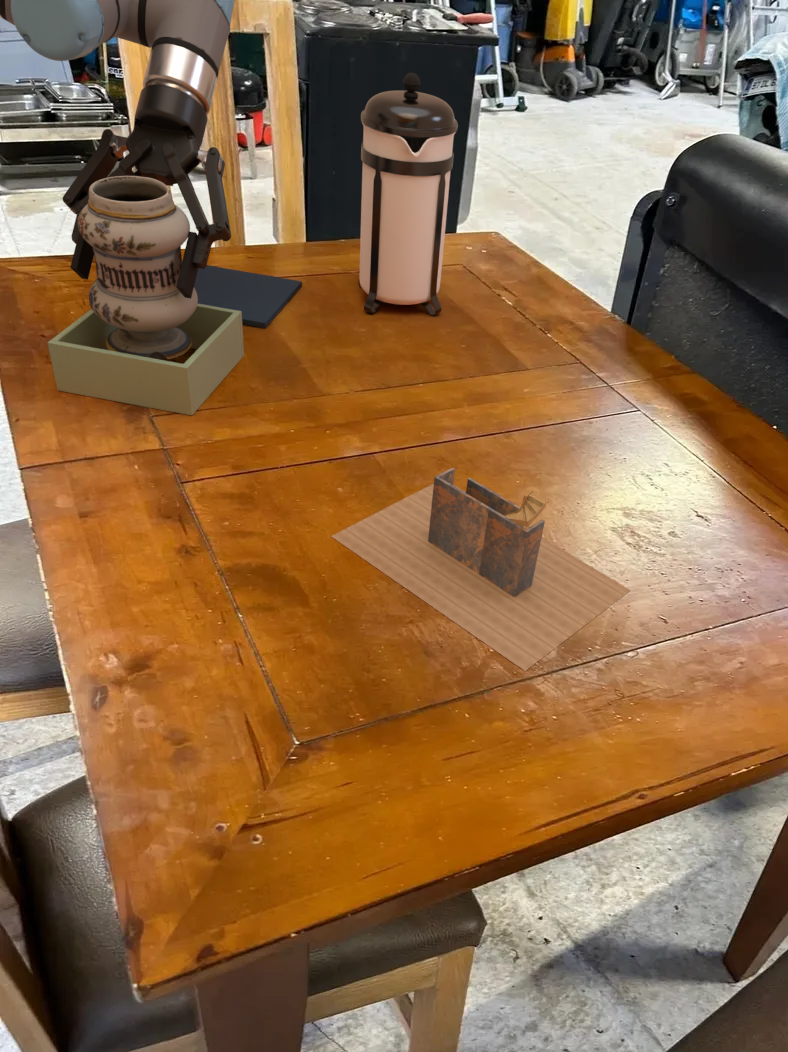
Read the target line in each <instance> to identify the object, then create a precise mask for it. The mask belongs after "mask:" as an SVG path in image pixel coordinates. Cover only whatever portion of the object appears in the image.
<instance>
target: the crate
mask: <svg viewBox="0 0 788 1052" xmlns="http://www.w3.org/2000/svg"><path fill="white" fill-rule="evenodd" d="M177 327H178V328H180V329H182V330H183V331H184V332H186V333H187V334H188V335H189V337H190V338H191V342H192V345H191V347H190V349H191V350H195V352H194V353H193V354H191V355H190V357H189V358H188V359H187V360H185V362H184V363H181V362H176V361H175V362H174V361H170V360H164V359H153V358H148V357H142V356H137V355H131V354H126V353H120V352H115V351H109V350H108V348H107V346H106V339H107V337H108V335H109V334H110V333H112V332H113V331H115V330H116V329H118V328H117V327H114V326H112V325H110V324H108V323H106V322H105V321H103V320H102V319H101V318H99V317H98V316H97V315H96V314H95V313H94V311H93V310H92V308H90V309H89V310H88V311H87V312H85V313H84V314H83V315H82V316H80V317H79V318H77V319H76V320H75V321H74V322H72V323H71V324H69V325H68V326H67V327H65V329H63V330H62V331H60V332H59V333H58V334H57V335H55V336H54V337H53V338H51V339H50V340H49V341H47V348H48V353H49V357H50V362H51V366H52V372H53V375H54V380H55V386H56V390H57V391H58V392H63V393H70V394H74V395H80V396H86V397H90V398H95V399H101V400H106V401H111V402H118V403H123V404H127V405H133V406H139V407H144V408H149V409H155V410H160V411H164V412H165V411H166V412H171V413H176V414H180V415H181V414H182V415H187V416H193V415H194V414H195V413H196V412H197V411H198V410H199V408H200V407H202V405H203V404H204V402H206V400H207V399H208V398H209V397H210V396H211V394H212V393H213V392H214V391H215V390H216V389H217V387H218V386H219V385H221V383H222V382H223V381H224V379H225V378H226V377H228V375H229V374H230V373H231V372H232V370H233V369H234V368H235V367H236V366H237V364H239V362H240V361H241V360H242V358H244V356H245V349H244V347H245V346H244V331H243V329H244V328H243V324H242V312H241V311H237V310H232V309H226V308H220V307H215V306H209V305H203V304H197V307H196V309H195V311H194V313H193V314H192V315H191V317H190V318H189V319H188V320H187V321H185V322H184V323H182V324H181V325H179V326H177ZM190 349H189V350H190Z"/></svg>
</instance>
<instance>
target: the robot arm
mask: <svg viewBox="0 0 788 1052" xmlns="http://www.w3.org/2000/svg"><path fill="white" fill-rule="evenodd" d="M235 1H236V0H0V18H1V19H3V20H4V21H6V22H8V23H9V24H11V25H13V26H15V28H16V31H17V32H18V34H19V35H20V37H21V38H22V39H23V40H24V42H25V43H26V44H27V46H28V47H29V48H30V49H31V50H33V51H34V52H35V53H37V54H38V55H40V56H42V57H44V58H45V59H48V60H52V61H55V62H56V61H57V62H66V61H67V62H68V61H71V60H77V59H79V58H84V57H87V56H88V55H90V54H92V53H93V51H95V50H96V49H97V48H98V47H99V46H101V45H103V44H105V43H107V42H109V41H111V40H112V39H115V38H116V39H120V40H124V41H127V42H131V43H134V44H137V45H140V46H143V47H146V48H151V49H150V54H149V58H148V61H147V64H146V69H145V72H144V76H143V80H142V89H141V91H140V93H139V97H138V102H137V106H136V109H135V113H134V119H133V120H134V122H133V129H132V131H131V132H130V133H129V135H128V136H123V135H122V136H121V135H117V134H115V133H114V132H113V131H112V129H110V128H105V129H104V130H103V131H102V133H101V136H100V140H99V143H98V147H97V148H96V149H95V151H94V152H93V154H92V155H91V157H89V159H88V161H87V162H86V164H85V165H84V166H83V168H82V169H81V170H80V172H79V173H78V175H77V176H76V178H75V179H74V180H73V181H72V183H71V185H70V186H69V187H68V189H67V190H66V192H65V193H64V195H63V196H62V202H63V203H64V204H65V205H66V206H67V208H68V209H69V210H70V211H71V212H72V213H73V214H74V215H75V220H74V224H73V228H72V232H71V241H72V242H73V243H74V244H75V247H74V251H73V255H72V259H71V263H70V266H69V268H70V269H71V270H72V271H73V272H74V273H75V274H76V275H77V276H79V278H80V279H82V280H89V276H90V274H91V269H92V266H93V261H94V258H95V257H94V251H93V246H91V245H90V244H88V243H87V242H86V241H85V240H84V239H83V237H82V236H81V234H80V232H79V229H78V217H79V214H80V212H81V211H82V209H83V208H84V207H85V206H86V205H87V204H88V200H89V188H90V186H91V185H92V184H93V183H94V182H96V181H98V180H101V179H104V178H108V177H115V176H140V177H148V178H153V179H156V180H159V181H161V182H163V183H164V184H166V185H167V186H168V187H174V185H177V187H178V188H179V190H180V193H181V195H182V198H183V200H184V202H185V205H186V208H187V209H188V211H189V214H190V217H191V218H192V221H193V223H194V226H195V229H196V231H197V232H196V231H191V230H190V231H189V235H188V238H187V240H186V244H185V248H184V252H183V255H182V264H181V269H180V273H179V277H178V281H177V285H176V288H177V289H178V290H179V291H180V292H181V294H182V295H183V296H184V297H185V298H190V299H191V297H192V293H193V289H194V284H195V280H196V276H197V272H198V268H200V269H205V267H206V266H207V265H208V261H209V257H210V254H211V249H212V246H213V244H214V243H215V242H217V241H223V242H228V241H230V240H231V238H232V231H231V226H230V225H231V224H230V219H229V212H228V208H227V200H226V195H225V188H224V182H223V177H224V171H225V167H226V162H225V160H224V159H223V157H222V154H221V153H220V151H219V149H218V148H217V147H215V146H211V147H209V148H208V150H203V149H201V146H202V144H203V141H204V137H205V132H206V130H207V129H206V128H207V124H208V115H209V113H210V111H211V107H212V102H213V99H214V94H215V89H216V85H217V82H218V77H219V72H220V68H221V65H222V61H223V58H224V53H225V50H226V45H227V42H228V39H229V35H230V34H231V22H232V18H233V12H234V7H235ZM125 152H128V153H127V155H125V156H124V153H125ZM119 159H121V160H120V161H119ZM118 161H119V162H118ZM117 163H118V167H117V168H116V169H114V168H115V167H116V165H117ZM200 164H201V167H202V169H203V170H204V172H205V179H206V185H207V190H208V191H207V192H208V198H209V203H210V210H211V216H212V223H211V224H210V223H209V220H208V219H207V216H206V214H205V212H204V209H203V206H202V205H201V202H200V201H199V197H198V195H197V193H196V191H195V187H194V185H193V183H192V181H191V179H190V176H189V174H190V173H191V172H193V171H194V170H195V169H196V168H197V167H198V166H199V165H200ZM134 167H135V170H136V171H133V168H134ZM113 170H114V171H113Z"/></svg>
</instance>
